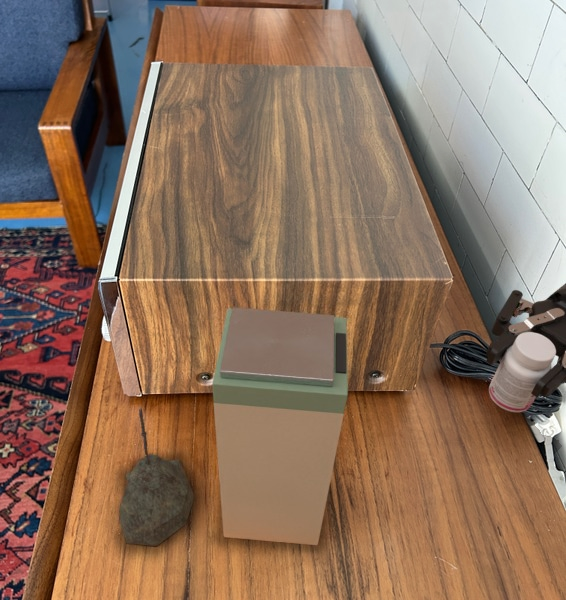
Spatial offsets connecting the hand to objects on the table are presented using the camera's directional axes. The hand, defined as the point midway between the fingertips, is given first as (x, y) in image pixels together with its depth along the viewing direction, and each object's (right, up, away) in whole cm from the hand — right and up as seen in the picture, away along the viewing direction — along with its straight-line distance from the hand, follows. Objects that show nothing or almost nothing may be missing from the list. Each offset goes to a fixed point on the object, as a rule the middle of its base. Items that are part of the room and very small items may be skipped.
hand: (513, 373), depth 58 cm
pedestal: (-25, -15, +5) cm, 29 cm away
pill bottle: (+2, -3, +6) cm, 7 cm away
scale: (-24, +2, -12) cm, 26 cm away
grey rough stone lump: (-37, -15, +5) cm, 41 cm away
